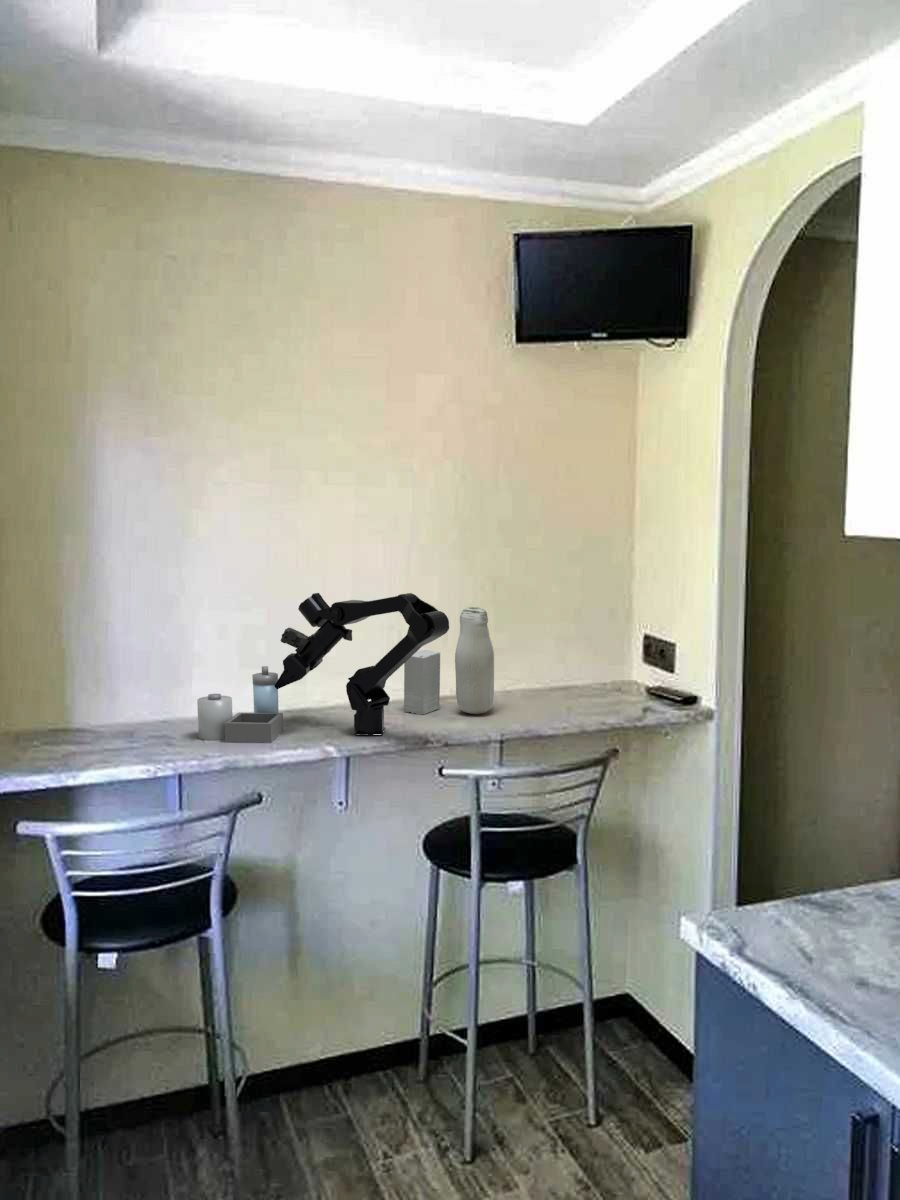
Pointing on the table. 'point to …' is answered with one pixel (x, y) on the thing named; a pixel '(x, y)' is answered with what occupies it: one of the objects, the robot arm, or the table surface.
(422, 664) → the skincare box
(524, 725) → the table surface
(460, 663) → the glass bottle
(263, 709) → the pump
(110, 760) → the table surface
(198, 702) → the jar and tray set
